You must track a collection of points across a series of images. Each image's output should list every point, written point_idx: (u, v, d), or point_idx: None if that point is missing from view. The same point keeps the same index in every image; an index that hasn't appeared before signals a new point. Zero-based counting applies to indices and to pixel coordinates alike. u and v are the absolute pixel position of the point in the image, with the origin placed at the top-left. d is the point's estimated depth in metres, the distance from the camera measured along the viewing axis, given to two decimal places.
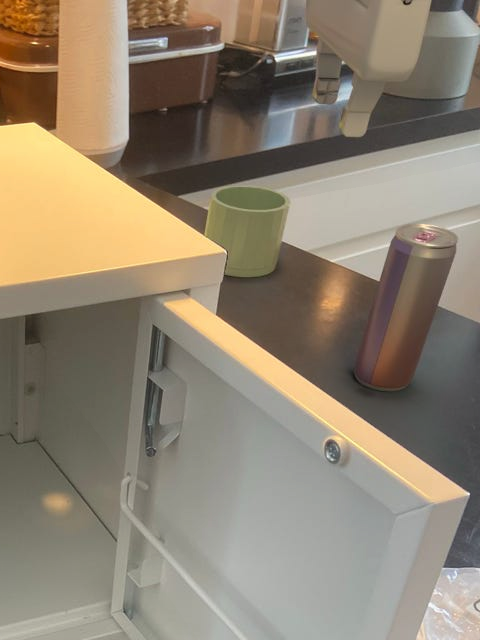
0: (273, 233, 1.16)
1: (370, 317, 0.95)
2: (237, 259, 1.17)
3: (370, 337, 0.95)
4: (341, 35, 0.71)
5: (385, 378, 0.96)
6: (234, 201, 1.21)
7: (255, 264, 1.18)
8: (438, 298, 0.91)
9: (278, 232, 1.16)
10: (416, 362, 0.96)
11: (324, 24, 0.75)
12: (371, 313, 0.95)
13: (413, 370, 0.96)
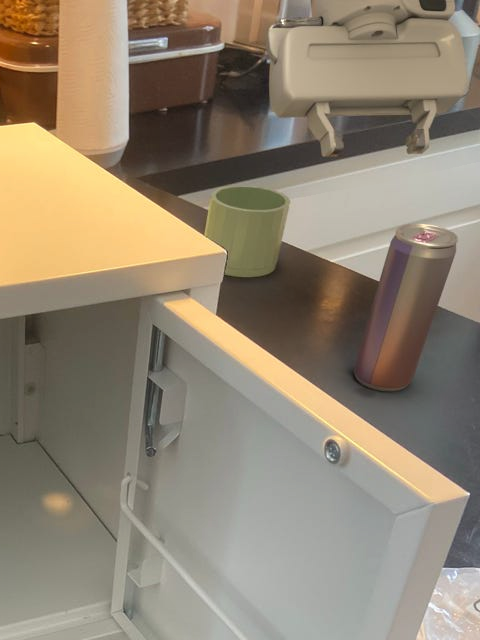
0: (273, 233, 1.16)
1: (370, 317, 0.95)
2: (237, 259, 1.17)
3: (370, 337, 0.95)
4: None
5: (385, 378, 0.96)
6: (234, 201, 1.21)
7: (255, 264, 1.18)
8: (438, 298, 0.91)
9: (278, 232, 1.16)
10: (416, 362, 0.96)
11: None
12: (371, 313, 0.95)
13: (413, 370, 0.96)
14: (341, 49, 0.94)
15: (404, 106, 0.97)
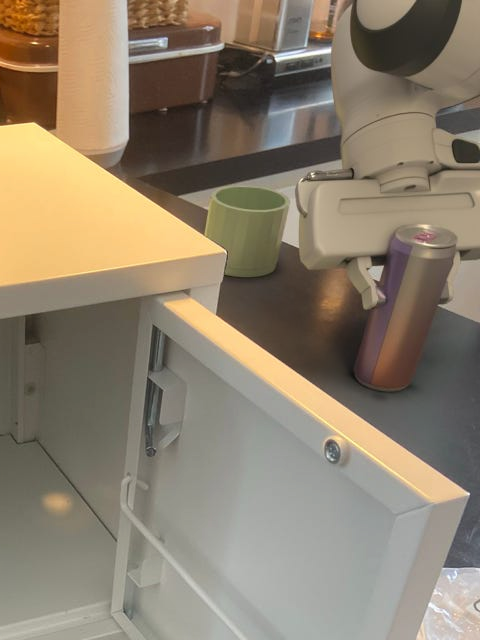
0: (273, 233, 1.16)
1: (370, 317, 0.95)
2: (237, 259, 1.17)
3: (370, 337, 0.95)
4: None
5: (385, 378, 0.96)
6: (234, 201, 1.21)
7: (255, 264, 1.18)
8: (438, 298, 0.91)
9: (278, 232, 1.16)
10: (416, 362, 0.96)
11: None
12: (371, 313, 0.95)
13: (413, 370, 0.96)
14: (373, 202, 0.92)
15: None
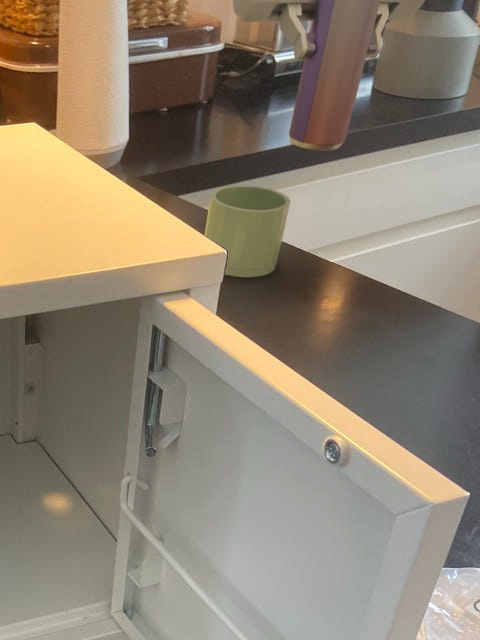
0: (273, 233, 1.16)
1: (302, 72, 0.98)
2: (237, 259, 1.17)
3: (303, 91, 0.98)
4: None
5: (317, 134, 0.99)
6: (234, 201, 1.21)
7: (255, 264, 1.18)
8: (366, 44, 0.94)
9: (278, 232, 1.16)
10: (347, 118, 0.99)
11: None
12: (303, 67, 0.98)
13: (345, 127, 0.99)
14: None
15: None
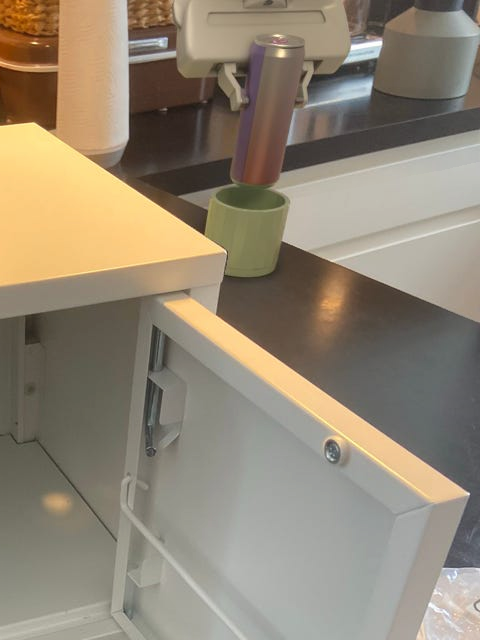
0: (273, 233, 1.16)
1: (239, 120, 1.11)
2: (237, 259, 1.17)
3: (239, 138, 1.11)
4: None
5: (253, 175, 1.12)
6: (234, 201, 1.21)
7: (255, 264, 1.18)
8: (292, 98, 1.07)
9: (278, 232, 1.16)
10: (279, 160, 1.12)
11: None
12: (239, 117, 1.11)
13: (277, 168, 1.13)
14: (237, 16, 1.08)
15: None
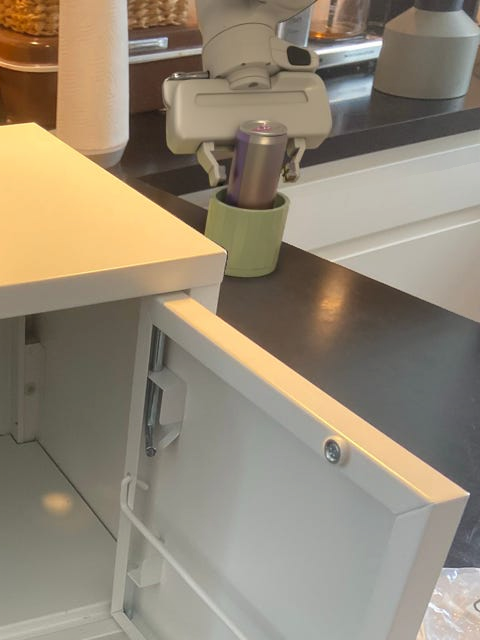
0: (273, 233, 1.16)
1: (225, 199, 1.17)
2: (237, 259, 1.17)
3: None
4: None
5: None
6: None
7: (255, 264, 1.18)
8: (276, 180, 1.14)
9: (278, 232, 1.16)
10: None
11: None
12: (226, 196, 1.17)
13: None
14: (223, 97, 1.13)
15: None
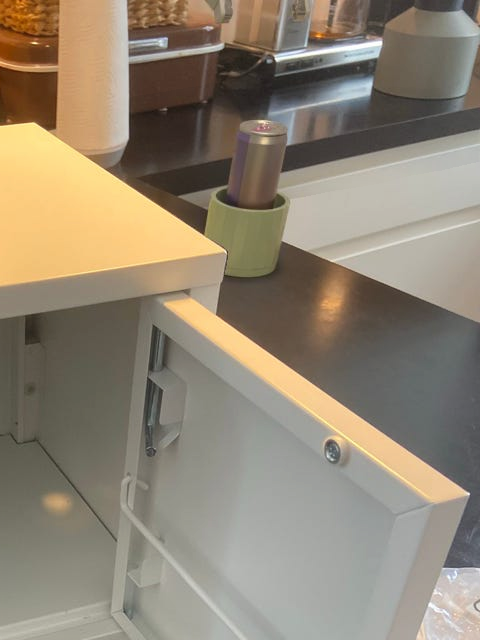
0: (273, 233, 1.16)
1: (225, 199, 1.17)
2: (237, 259, 1.17)
3: None
4: None
5: None
6: None
7: (255, 264, 1.18)
8: (276, 180, 1.14)
9: (278, 232, 1.16)
10: None
11: None
12: (226, 196, 1.17)
13: None
14: None
15: None
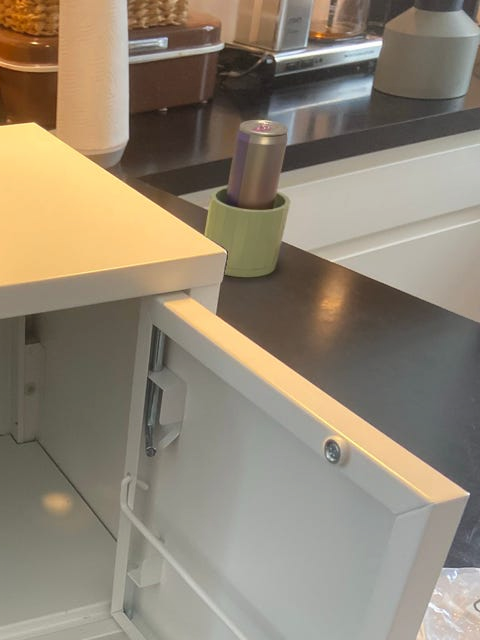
0: (273, 233, 1.16)
1: (225, 199, 1.17)
2: (237, 259, 1.17)
3: None
4: None
5: None
6: None
7: (255, 264, 1.18)
8: (276, 180, 1.14)
9: (278, 232, 1.16)
10: None
11: None
12: (226, 196, 1.17)
13: None
14: None
15: None
